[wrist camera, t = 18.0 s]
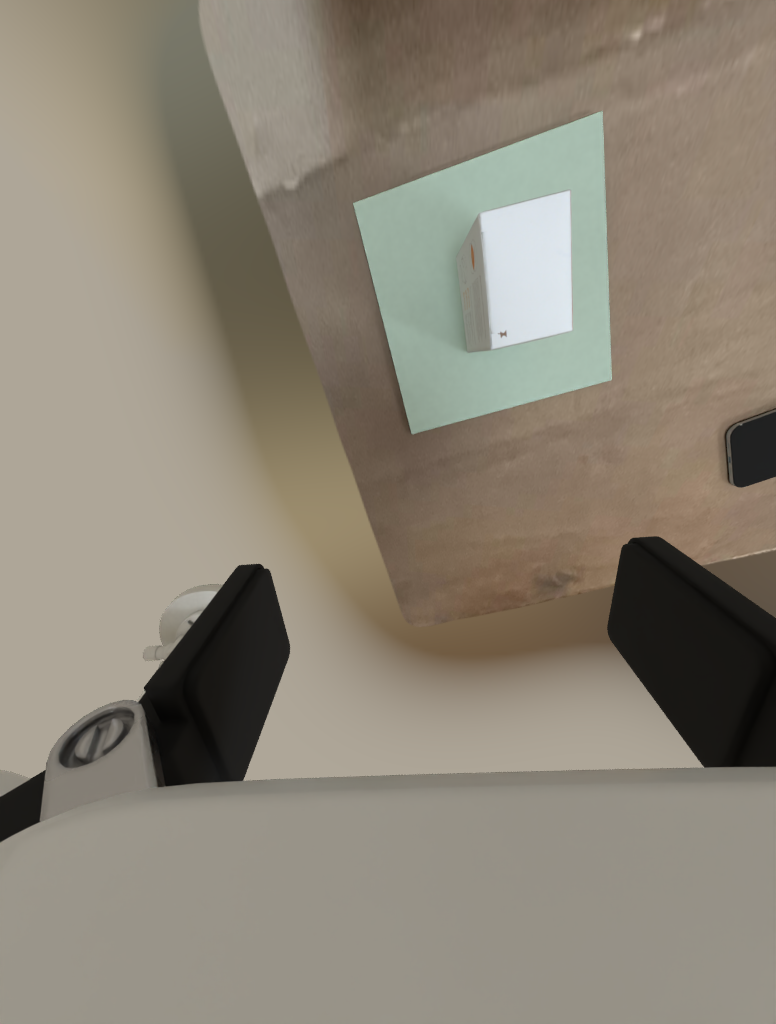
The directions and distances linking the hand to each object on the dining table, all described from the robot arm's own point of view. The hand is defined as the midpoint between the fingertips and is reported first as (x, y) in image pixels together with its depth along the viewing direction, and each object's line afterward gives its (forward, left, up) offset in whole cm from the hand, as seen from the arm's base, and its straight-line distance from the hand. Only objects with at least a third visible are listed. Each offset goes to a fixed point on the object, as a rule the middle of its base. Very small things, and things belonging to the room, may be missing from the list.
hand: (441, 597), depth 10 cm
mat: (+8, +10, -30) cm, 33 cm away
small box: (+8, +10, -30) cm, 32 cm away
